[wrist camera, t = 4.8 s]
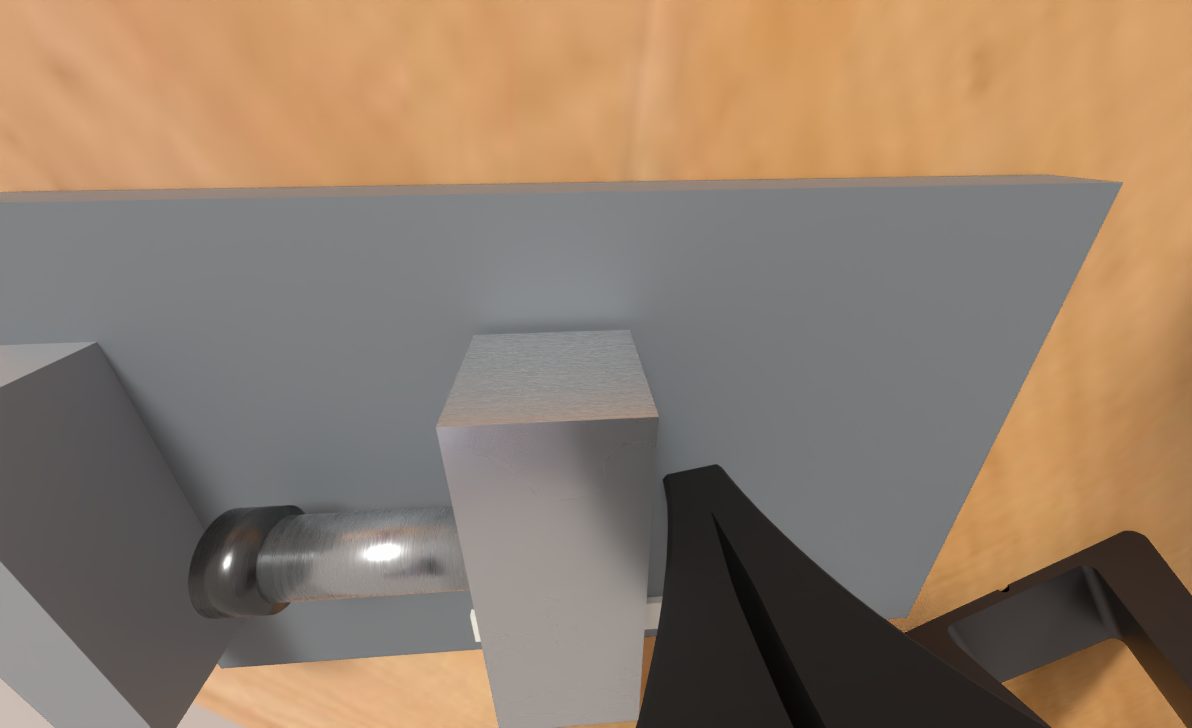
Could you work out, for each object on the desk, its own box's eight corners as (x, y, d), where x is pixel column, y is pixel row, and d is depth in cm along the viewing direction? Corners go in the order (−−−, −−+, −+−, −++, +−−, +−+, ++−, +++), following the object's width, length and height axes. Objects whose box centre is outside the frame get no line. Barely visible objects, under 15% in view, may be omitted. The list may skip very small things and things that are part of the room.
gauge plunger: (629, 329, 9) (659, 416, 6) (620, 640, 14) (635, 765, 11) (199, 345, 8) (33, 446, 6) (344, 661, 13) (290, 797, 10)
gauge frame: (1047, 174, 10) (1377, 209, 6) (878, 576, 16) (983, 727, 12) (4, 192, 9) (-472, 249, 5) (252, 619, 15) (137, 802, 11)
